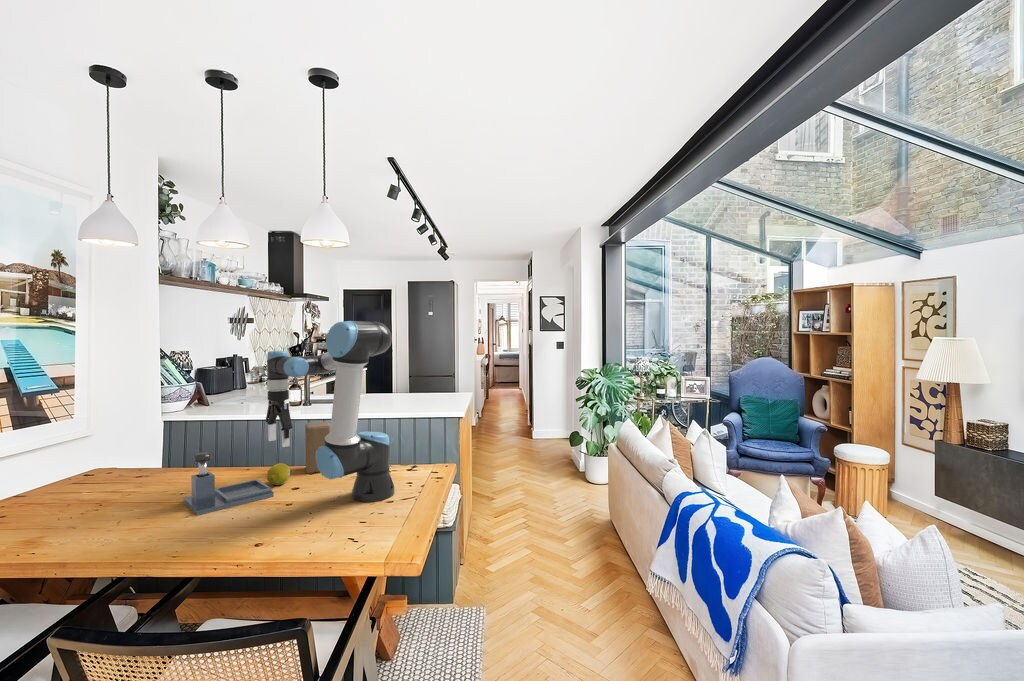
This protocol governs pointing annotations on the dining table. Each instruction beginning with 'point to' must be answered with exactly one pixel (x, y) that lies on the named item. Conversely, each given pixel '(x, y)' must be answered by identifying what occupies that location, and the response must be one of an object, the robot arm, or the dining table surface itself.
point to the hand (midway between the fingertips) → (278, 443)
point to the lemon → (278, 474)
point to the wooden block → (314, 442)
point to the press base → (223, 494)
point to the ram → (202, 462)
